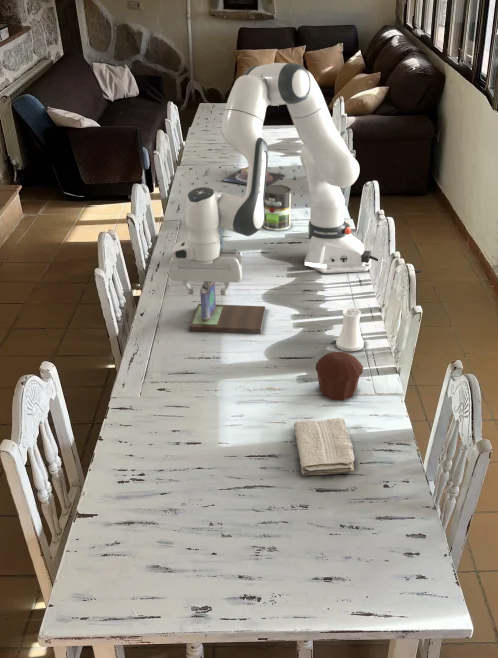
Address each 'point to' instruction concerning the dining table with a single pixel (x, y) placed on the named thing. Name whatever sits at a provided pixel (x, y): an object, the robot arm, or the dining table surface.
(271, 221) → the coffee can
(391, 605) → the dining table surface
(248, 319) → the board
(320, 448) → the washcloth
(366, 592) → the dining table surface
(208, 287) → the flask
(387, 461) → the dining table surface
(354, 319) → the white salt shaker
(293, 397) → the dining table surface
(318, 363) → the muffin
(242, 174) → the quiche
